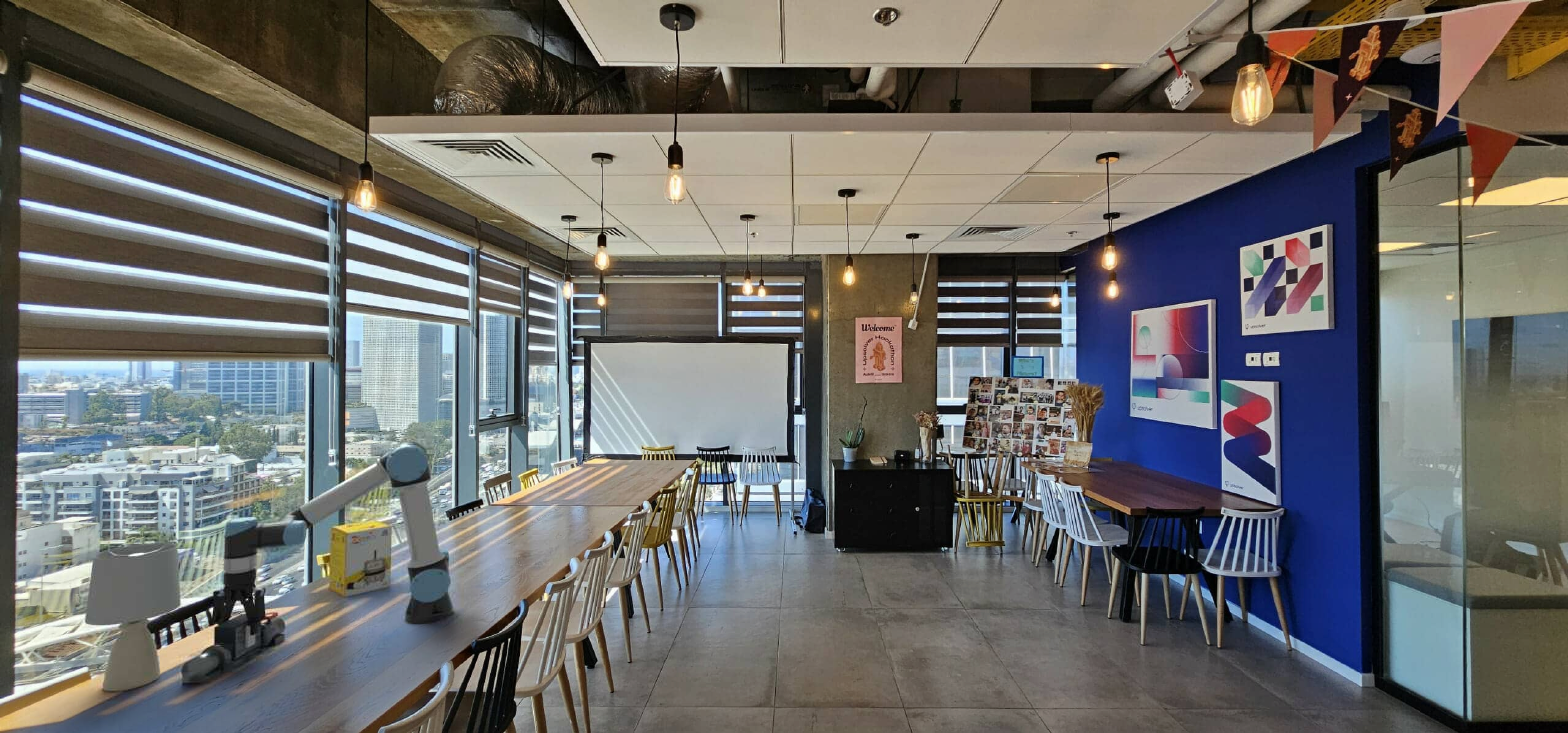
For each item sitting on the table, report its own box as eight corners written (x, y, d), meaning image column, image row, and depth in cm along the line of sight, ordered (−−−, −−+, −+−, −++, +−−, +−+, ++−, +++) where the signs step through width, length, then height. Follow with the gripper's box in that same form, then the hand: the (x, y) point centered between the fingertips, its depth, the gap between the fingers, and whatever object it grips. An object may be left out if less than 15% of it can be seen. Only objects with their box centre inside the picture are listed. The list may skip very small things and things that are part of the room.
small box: (240, 646, 193) (241, 613, 193) (262, 646, 194) (263, 612, 194) (211, 662, 183) (212, 626, 183) (235, 661, 183) (236, 626, 183)
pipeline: (257, 639, 203) (258, 611, 203) (292, 638, 204) (293, 611, 204) (171, 685, 172) (172, 653, 173) (213, 685, 173) (214, 652, 173)
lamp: (135, 666, 184) (140, 541, 184) (196, 668, 183) (200, 542, 184) (60, 698, 165) (65, 559, 166) (127, 700, 164) (132, 560, 165)
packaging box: (373, 578, 265) (375, 520, 266) (390, 586, 256) (391, 525, 256) (328, 588, 252) (330, 527, 253) (344, 597, 242) (346, 533, 243)
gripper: (282, 565, 193) (280, 640, 193) (217, 566, 192) (214, 641, 191) (264, 573, 186) (262, 650, 185) (195, 573, 184) (193, 651, 184)
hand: (238, 645), depth 188 cm, fingers closed on small box, 6 cm apart
